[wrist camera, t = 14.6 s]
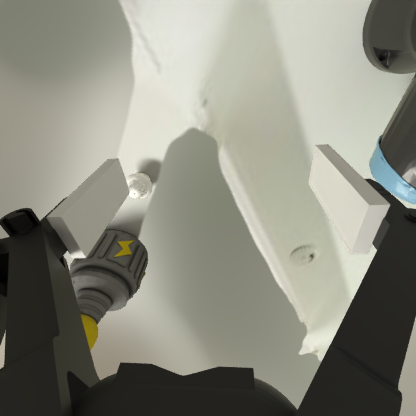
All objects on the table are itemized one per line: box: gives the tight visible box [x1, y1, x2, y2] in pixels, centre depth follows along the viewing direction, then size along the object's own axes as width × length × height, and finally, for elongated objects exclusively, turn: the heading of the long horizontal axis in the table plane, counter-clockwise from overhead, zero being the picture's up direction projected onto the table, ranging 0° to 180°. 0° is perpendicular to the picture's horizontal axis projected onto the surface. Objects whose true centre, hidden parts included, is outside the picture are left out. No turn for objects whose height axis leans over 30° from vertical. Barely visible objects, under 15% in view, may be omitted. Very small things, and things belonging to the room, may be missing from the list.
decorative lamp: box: [69, 230, 148, 350], centre depth 57 cm, size 19×19×30 cm
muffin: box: [126, 173, 152, 199], centre depth 51 cm, size 6×6×7 cm
